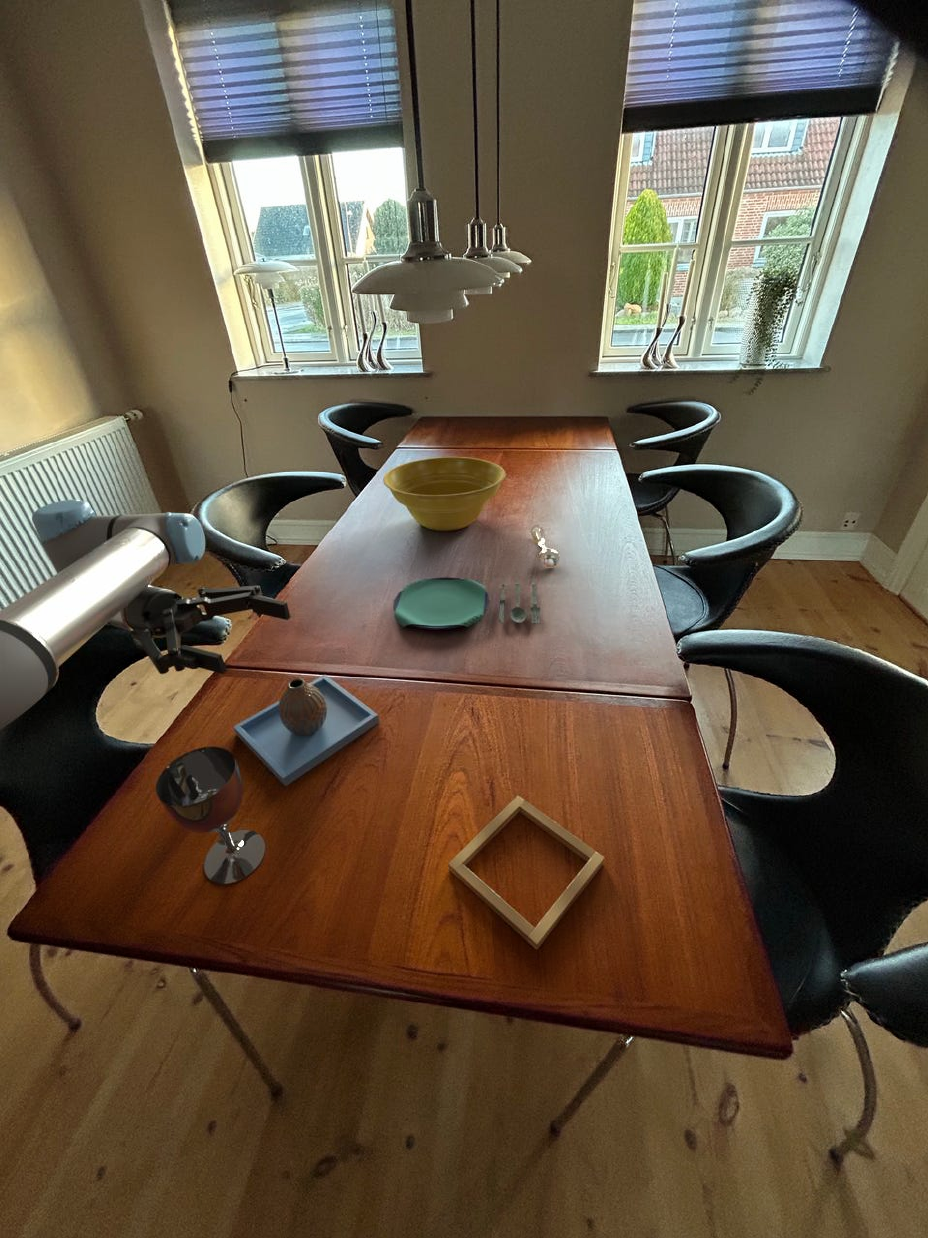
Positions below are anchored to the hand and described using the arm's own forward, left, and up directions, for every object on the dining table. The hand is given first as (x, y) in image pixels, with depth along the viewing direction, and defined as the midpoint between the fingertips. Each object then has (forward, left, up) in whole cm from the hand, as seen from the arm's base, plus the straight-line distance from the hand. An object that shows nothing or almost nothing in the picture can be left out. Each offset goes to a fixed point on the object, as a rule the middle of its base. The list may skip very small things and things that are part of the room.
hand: (257, 636), depth 75 cm
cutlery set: (+43, +1, -17) cm, 46 cm away
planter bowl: (+72, +36, -17) cm, 82 cm away
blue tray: (+2, -4, -17) cm, 17 cm away
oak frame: (+7, -43, -17) cm, 47 cm away
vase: (+2, -4, -16) cm, 17 cm away
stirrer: (+75, +5, -17) cm, 77 cm away
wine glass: (-16, -16, -17) cm, 28 cm away
